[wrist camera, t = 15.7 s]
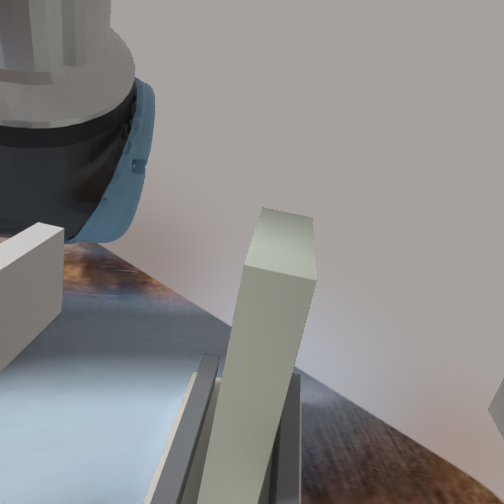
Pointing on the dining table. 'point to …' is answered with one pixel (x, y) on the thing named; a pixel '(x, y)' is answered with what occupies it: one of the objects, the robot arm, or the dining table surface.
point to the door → (260, 357)
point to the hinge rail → (197, 440)
